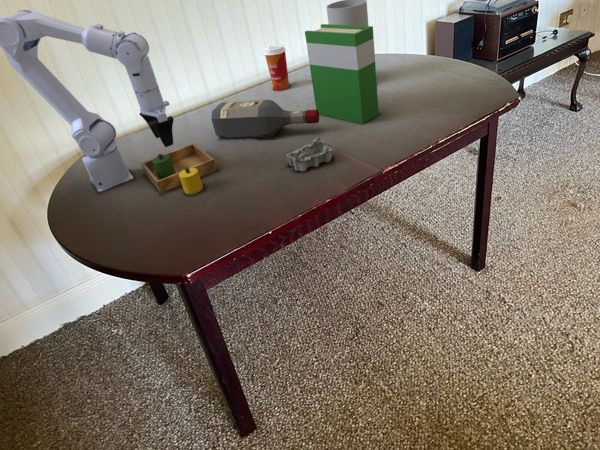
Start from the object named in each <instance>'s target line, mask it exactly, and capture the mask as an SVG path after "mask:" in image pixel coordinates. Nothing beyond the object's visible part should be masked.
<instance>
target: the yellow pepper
mask: <svg viewBox="0 0 600 450" xmlns="http://www.w3.org/2000/svg"><path fill="white" fill-rule="evenodd" d="M179 177H180V180H181V183H182V184H181V186H182V188H183V192H184V193H185V194H186V195H194V194H197V193H199V192H200V191H202V190H203V189H204V185H203V182H202V178H201V177H200V176H199V173H198V170H197V169H196V168H189V167H186V168H185V170H183V171H181V172H180V173H179Z"/></svg>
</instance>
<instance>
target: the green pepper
mask: <svg viewBox="0 0 600 450" xmlns="http://www.w3.org/2000/svg"><path fill="white" fill-rule="evenodd" d="M152 159H153V160H152V162H153V165H154V167H155V170H156V173H157V175H158V178H159V180H161V179H163V178H166V177H168V176H171V175H173V174H176V172H175V169H174V166H173V163H172V160H171V157H170V156H169V155H164V154H162V153H158V154H157V156H155V157H154V158H152Z"/></svg>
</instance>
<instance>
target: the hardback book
mask: <svg viewBox="0 0 600 450" xmlns="http://www.w3.org/2000/svg"><path fill="white" fill-rule="evenodd" d="M304 37H305V44H306V51H307V56H308V57H307V58H308V65H309V70H310V71H309V72H310V78H311V85H312V90H313V97H314V103H315V104H314V105H315V110H318V111H319V116H323V117H329V118H333V119H338V120H342V121H347V122H353V123H357V124H360V125H361V124H362V125H364V124H365V123H367V122H368V121H370V120H372V119H373V118H375V117H377V116H378V115H379V114H380V110H379V96H378V83H377V82H378V81H377V68H376V67H377V65H376V52H375V38H374V26H373V25H368V26H354V25H332V24H328V23H322V24H320V28H317V29H316V30H305V31H304Z"/></svg>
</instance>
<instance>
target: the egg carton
mask: <svg viewBox="0 0 600 450" xmlns="http://www.w3.org/2000/svg"><path fill="white" fill-rule="evenodd" d="M332 151H334V149H333V148H332V147H330V146H329V145H327V144H326V142H325V141H324V140H323V139H322V138H321V137H318V138H317V137H316V138H314V139H312V140H310V141H309V143H308V144H304V145H303V146H302V147H300V148H297V149H295V150H293V151H292V152H290V153H286V154H285V156H286V158H287V160H288V165H289V166H290V167H294V171H297V172H298V171H299V172H303V173H304V172H307V169H308V168H309V167H314V168H317V167H319V165H320V163H329V162H331V159H332V158H333V153H332Z"/></svg>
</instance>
